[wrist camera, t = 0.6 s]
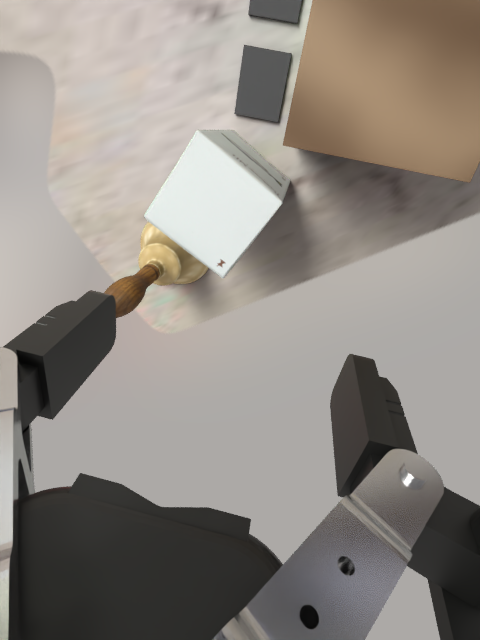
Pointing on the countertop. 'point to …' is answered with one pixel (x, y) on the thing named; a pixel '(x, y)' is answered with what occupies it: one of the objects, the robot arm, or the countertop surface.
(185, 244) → the supplement box
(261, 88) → the pair of grey pads
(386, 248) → the countertop surface
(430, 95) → the brown hollow box
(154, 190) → the countertop surface
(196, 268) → the hand bell
